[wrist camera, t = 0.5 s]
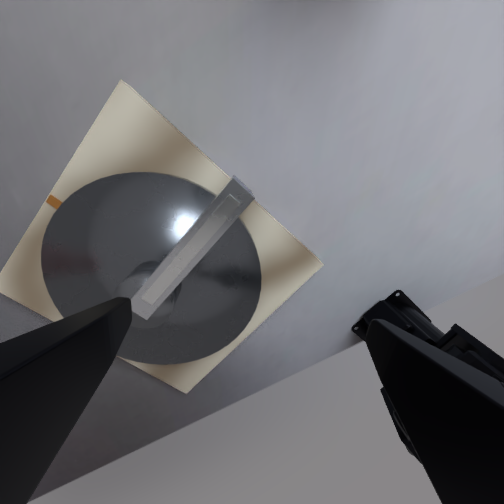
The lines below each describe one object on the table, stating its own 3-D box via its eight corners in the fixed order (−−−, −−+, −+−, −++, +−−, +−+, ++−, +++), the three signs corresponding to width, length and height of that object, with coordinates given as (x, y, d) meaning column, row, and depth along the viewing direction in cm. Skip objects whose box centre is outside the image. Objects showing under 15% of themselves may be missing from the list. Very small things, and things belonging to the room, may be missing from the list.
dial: (182, 381, 24) (168, 437, 19) (15, 287, 20) (-61, 328, 15) (317, 251, 20) (343, 280, 15) (144, 90, 15) (98, 54, 10)
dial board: (318, 258, 22) (324, 265, 21) (188, 381, 27) (185, 394, 25) (130, 86, 16) (120, 78, 15) (7, 279, 21) (-11, 288, 20)
